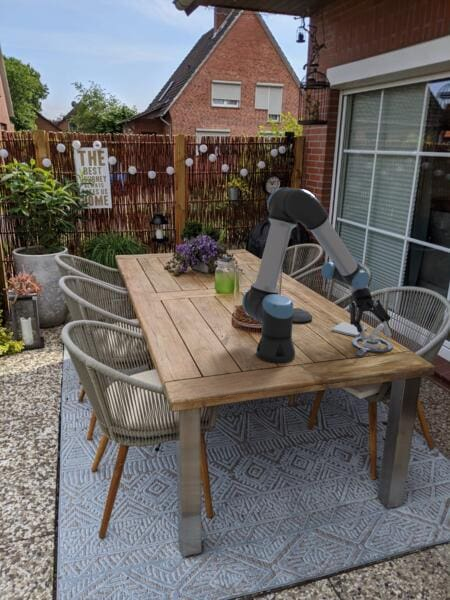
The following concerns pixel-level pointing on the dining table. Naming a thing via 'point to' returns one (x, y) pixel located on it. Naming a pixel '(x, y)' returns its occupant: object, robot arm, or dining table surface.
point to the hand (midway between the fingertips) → (377, 337)
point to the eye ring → (364, 350)
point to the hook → (373, 338)
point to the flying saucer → (301, 315)
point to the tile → (347, 329)
